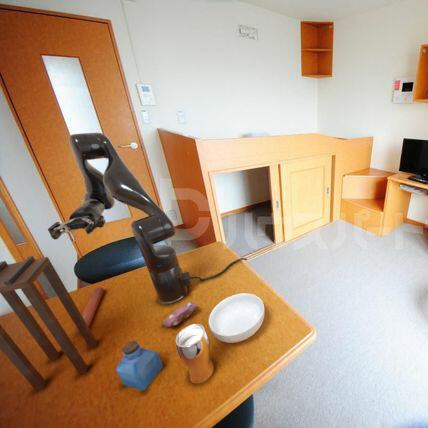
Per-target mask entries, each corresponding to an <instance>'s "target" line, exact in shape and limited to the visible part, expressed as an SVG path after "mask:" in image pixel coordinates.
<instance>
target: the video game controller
mask: <svg viewBox="0 0 428 428" xmlns="http://www.w3.org/2000/svg"><path fill="white" fill-rule="evenodd" d="M197 307H198V306H197V305H196V304H195V303H194V302H188V303H186V304H185V305H182V306H179V307H178V308H176V309H175V310H174V312H172V313H171V314H170V315H169V316H168V317H167V318H166V319H164V320H162V324H163V327H165V328H172V327H173V326H177V325H179V324H180V323H181V322H182V321H183V320H182V317H183V319H187V318H189V317H190V316H191V314H192V313H193V312H194V311H195V310H196V308H197Z"/></svg>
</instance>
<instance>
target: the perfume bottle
mask: <svg viewBox="0 0 428 428" xmlns="http://www.w3.org/2000/svg"><path fill="white" fill-rule="evenodd" d="M121 352H122V355H123V357H122V358H121V359H120V360H119V362H118V365H117V367H116V369H115V371H116V373H117V375H118V377H119V378H120V380H121V382H122V384H123V385H124V386H125V387H128V388H129V387H130V388H133V389H137V390H141V391H145V390H146V389H147V388H148V387H149V385H150V384H151V383H152V381H154V379H155V378H156V376H158V374H159V373H160V371H161V370H162V369H163V368H164V366H163V363H162V361H161V358H160V356H159V354H158V352H157V351H155V350H151V349H148V348H143V347H141V345H140V344H139V343H138V341H137V340H130V341H128V342H126V343H125V344H124V345H123V346H122V348H121Z"/></svg>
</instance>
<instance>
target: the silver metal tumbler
mask: <svg viewBox="0 0 428 428" xmlns="http://www.w3.org/2000/svg"><path fill="white" fill-rule="evenodd" d="M205 329H206V328H205V327H204V325H202V324H200V323H192V324H189V325H187V326H184V327H183V328H182V329H181V330H180V331H179V332H178V333H177V334H176V336H175V344H176V345H175V346H176V349H177V353H178V356H179V359H180V360H181V362H182V363H183V364H184V366H185V367H186V368H187V369H188V371H189V373H188V374H189V376H188V377H189V380H190V381H191V382H192V383H193V384H202V383H205V382H206V381H208V380H209V378H211V376H212V375H213V373H214V370H215V366H214V363H213V361H212V360H211V352H210V350H211V349H210V347H211V346H210V339H209V337H208V334H207V332H206V330H205Z"/></svg>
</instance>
